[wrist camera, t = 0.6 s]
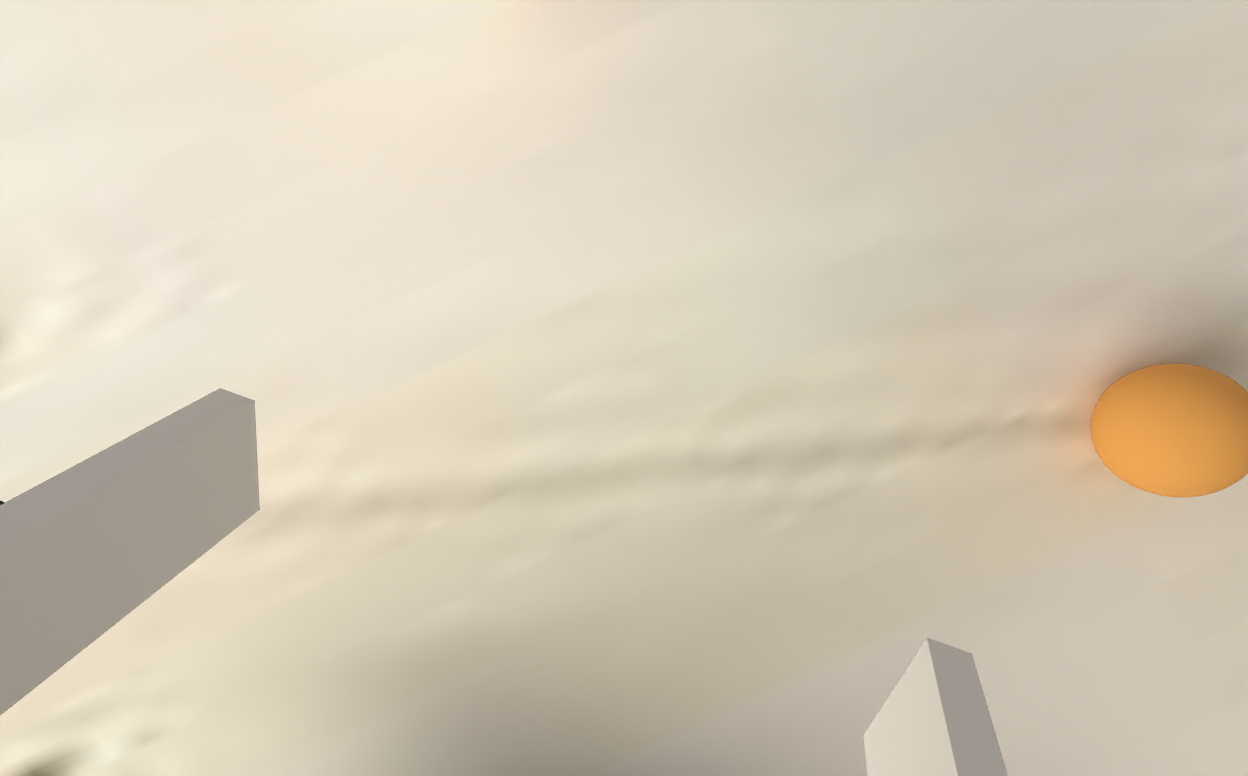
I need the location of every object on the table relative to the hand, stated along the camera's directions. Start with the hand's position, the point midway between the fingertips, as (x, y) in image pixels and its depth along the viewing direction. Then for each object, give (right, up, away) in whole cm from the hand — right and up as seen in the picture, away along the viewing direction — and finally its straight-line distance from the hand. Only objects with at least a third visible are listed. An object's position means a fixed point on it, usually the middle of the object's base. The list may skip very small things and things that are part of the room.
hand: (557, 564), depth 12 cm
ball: (+24, +2, +15) cm, 28 cm away
